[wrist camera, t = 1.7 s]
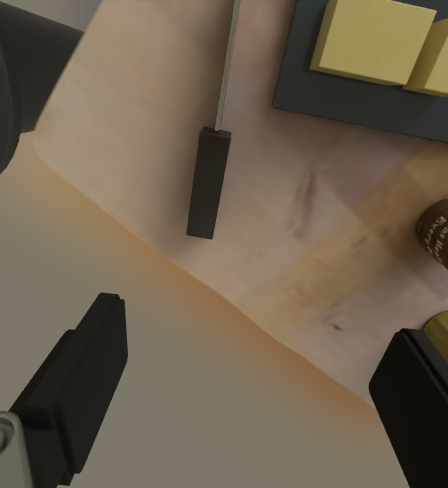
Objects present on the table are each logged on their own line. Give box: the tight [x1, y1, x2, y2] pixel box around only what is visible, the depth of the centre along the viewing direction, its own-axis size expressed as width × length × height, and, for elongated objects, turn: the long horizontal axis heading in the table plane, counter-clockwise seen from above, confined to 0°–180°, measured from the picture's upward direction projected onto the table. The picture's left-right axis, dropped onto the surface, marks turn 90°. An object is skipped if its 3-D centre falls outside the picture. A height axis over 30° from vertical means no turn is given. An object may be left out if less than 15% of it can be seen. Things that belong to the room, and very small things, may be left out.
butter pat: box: [403, 18, 448, 97], centre depth 20 cm, size 3×4×3 cm
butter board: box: [272, 0, 448, 143], centre depth 22 cm, size 16×10×1 cm, turn 80°
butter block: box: [309, 0, 437, 85], centre depth 20 cm, size 6×4×3 cm, turn 80°
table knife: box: [186, 0, 241, 239], centre depth 23 cm, size 2×19×3 cm, turn 170°
